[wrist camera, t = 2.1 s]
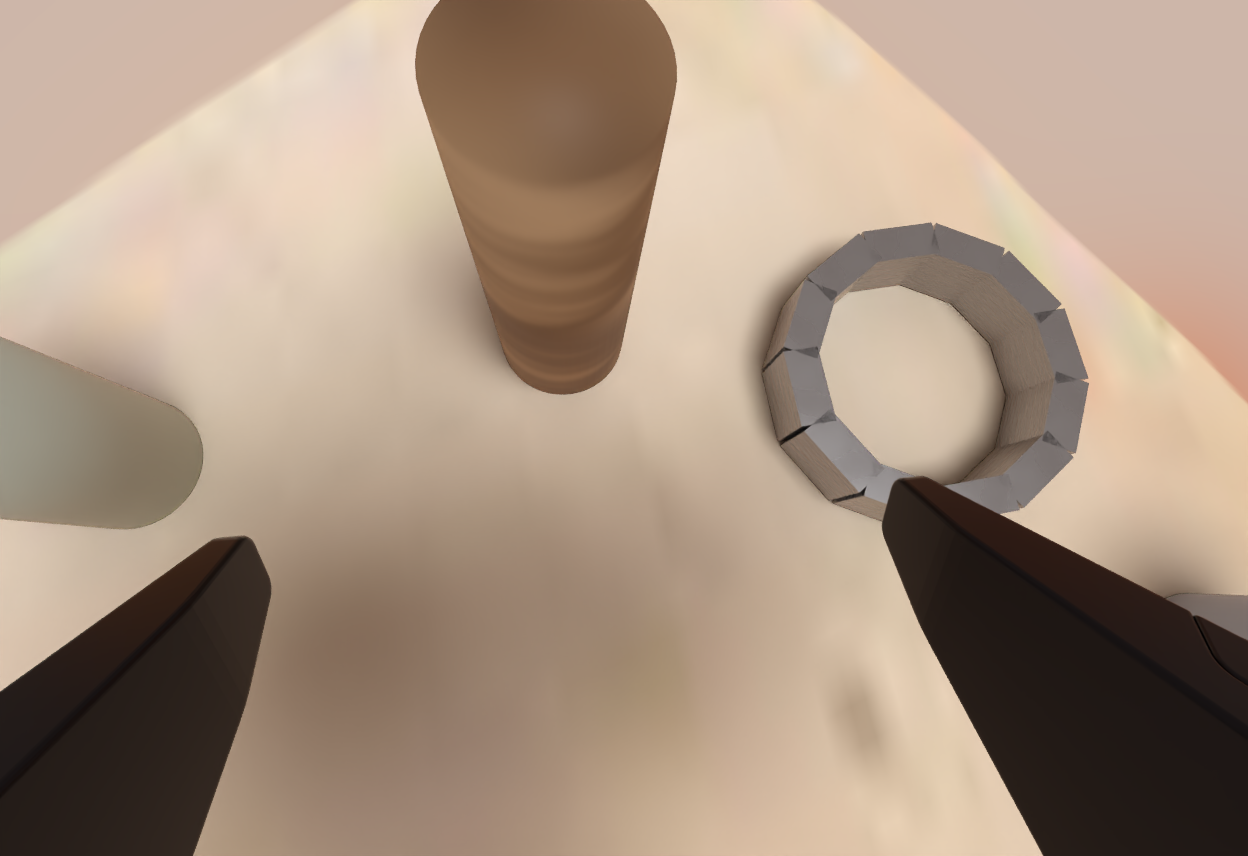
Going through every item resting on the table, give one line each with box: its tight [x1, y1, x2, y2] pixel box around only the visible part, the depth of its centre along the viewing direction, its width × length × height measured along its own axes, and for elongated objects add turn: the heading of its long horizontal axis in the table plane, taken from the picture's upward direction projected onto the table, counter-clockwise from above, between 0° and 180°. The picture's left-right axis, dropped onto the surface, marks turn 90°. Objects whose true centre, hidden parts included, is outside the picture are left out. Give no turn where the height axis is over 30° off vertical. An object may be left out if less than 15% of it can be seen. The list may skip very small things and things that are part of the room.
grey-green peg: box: [0, 337, 203, 529], centre depth 16 cm, size 4×4×10 cm
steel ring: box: [762, 223, 1089, 521], centre depth 23 cm, size 10×10×2 cm
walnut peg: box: [415, 0, 677, 394], centre depth 17 cm, size 4×4×13 cm
